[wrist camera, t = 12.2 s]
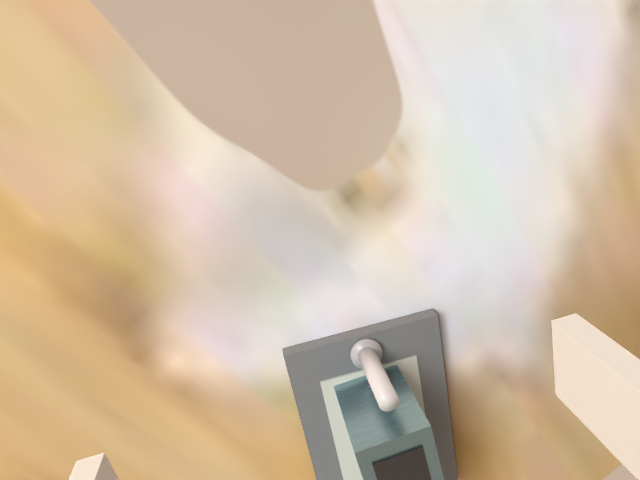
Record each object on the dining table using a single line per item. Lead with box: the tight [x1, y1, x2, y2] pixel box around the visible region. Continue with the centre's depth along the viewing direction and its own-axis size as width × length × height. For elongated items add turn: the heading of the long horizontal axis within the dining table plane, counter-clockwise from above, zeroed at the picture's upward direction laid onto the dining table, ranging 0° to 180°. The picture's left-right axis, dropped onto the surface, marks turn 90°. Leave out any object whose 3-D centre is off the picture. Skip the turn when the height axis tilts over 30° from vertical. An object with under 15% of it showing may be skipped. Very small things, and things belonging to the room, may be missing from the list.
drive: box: [334, 364, 444, 480], centre depth 40 cm, size 6×12×8 cm, turn 16°
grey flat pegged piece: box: [283, 309, 458, 480], centre depth 41 cm, size 14×20×8 cm
